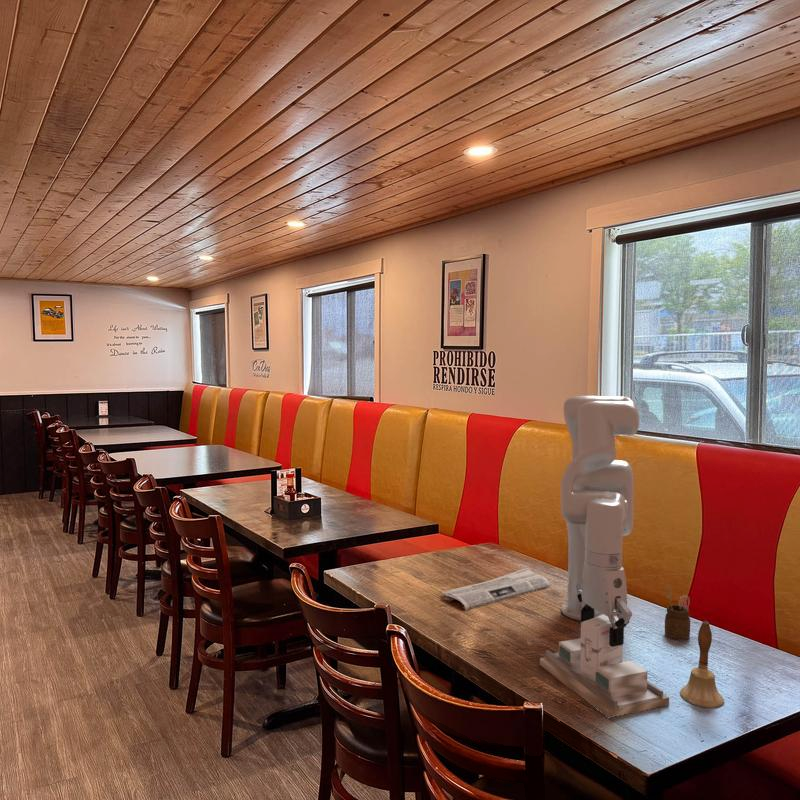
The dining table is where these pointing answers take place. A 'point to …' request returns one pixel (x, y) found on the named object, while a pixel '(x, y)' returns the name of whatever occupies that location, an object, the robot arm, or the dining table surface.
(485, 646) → the dining table surface
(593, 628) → the ink box
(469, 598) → the newspaper
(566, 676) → the rail board
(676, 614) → the utensil holder
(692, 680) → the hand bell
